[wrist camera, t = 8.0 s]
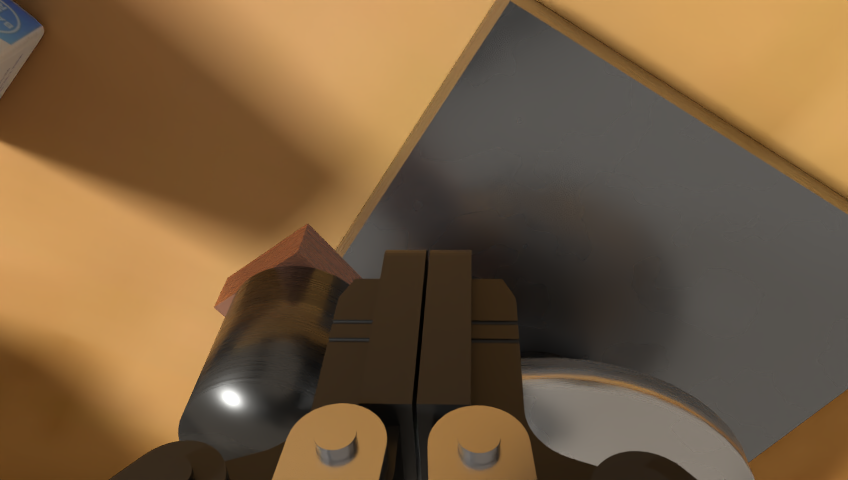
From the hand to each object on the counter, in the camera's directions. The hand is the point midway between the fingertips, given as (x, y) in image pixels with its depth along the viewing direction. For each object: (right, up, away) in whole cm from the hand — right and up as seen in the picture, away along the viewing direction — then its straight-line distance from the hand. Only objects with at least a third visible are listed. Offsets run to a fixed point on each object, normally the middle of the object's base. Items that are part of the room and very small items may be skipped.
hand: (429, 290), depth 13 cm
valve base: (+3, -3, +11) cm, 12 cm away
